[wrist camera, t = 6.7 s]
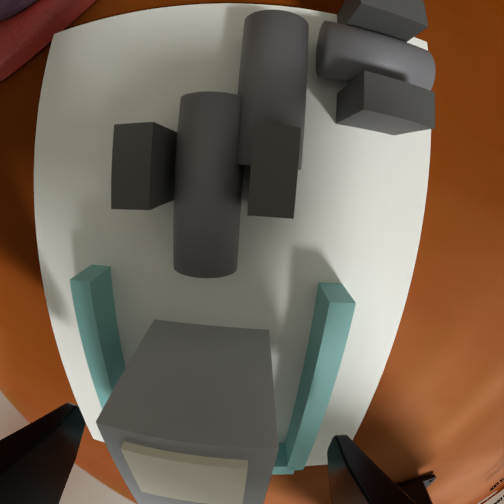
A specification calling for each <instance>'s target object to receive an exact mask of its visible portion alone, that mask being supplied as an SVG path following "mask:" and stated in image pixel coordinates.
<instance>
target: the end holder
mask: <svg viewBox="0 0 504 504" xmlns="http://www.w3.org/2000/svg"><path fill="white" fill-rule="evenodd" d="M70 286H71V292H72V298H73V304H74V309H75V314H76V319H77V324H78V328H79V333H80V337H81V341H82V345H83V349H84V353H85V357H86V360H87V364H88V368H89V371H90V374H91V378H92V381H93V384H94V387H95V390H96V393H97V396H98V399H99V402H100V405H101V408H102V409H103V407H104V405H105V404H106V402H107V400H108V398H109V396H110V395H111V393H112V391H113V389H114V387H115V386H116V384H117V382H118V380H119V379H120V377H121V375H122V373H123V372H124V370H125V364H124V359H123V354H122V348H121V343H120V337H119V331H118V325H117V318H116V311H115V304H114V296H113V287H112V278H111V267H110V266H102V265H90V266H89V267H87V268H86V269H84V270H83V271H81V272H80V273H78V274H77V275H75V276H74V277H72V278H71V279H70ZM355 305H356V302H355V301H354V300H353V298H352V297H351V295H350V294H349V293H348V291H347V290H346V288H345V287H344V286H343V284H342V283H325V282H319V283H318V290H317V296H316V302H315V308H314V313H313V319H312V325H311V330H310V335H309V341H308V346H307V351H306V356H305V360H304V365H303V370H302V375H301V379H300V384H299V388H298V392H297V397H296V401H295V405H294V409H293V413H292V418H291V422H290V425H289V429H288V433H287V437H286V441H285V443H278V447H279V450H278V454H277V457H276V461H275V465H274V468H273V472H272V475H280V474H293V473H294V471H295V470H303V469H304V467H305V465H306V462H307V460H308V457H309V455H310V452H311V450H312V447H313V445H314V442H315V440H316V437H317V434H318V432H319V429H320V426H321V423H322V420H323V418H324V415H325V412H326V409H327V406H328V403H329V400H330V397H331V394H332V391H333V388H334V384H335V381H336V378H337V374H338V371H339V368H340V364H341V361H342V357H343V353H344V350H345V346H346V342H347V338H348V335H349V331H350V327H351V322H352V318H353V314H354V310H355Z"/></svg>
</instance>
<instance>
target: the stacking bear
mask: <svg viewBox="0 0 504 504" xmlns="http://www.w3.org/2000/svg"><path fill="white" fill-rule="evenodd" d="M95 1H96V0H0V81H2V80H4V79H5V78H7V77H8V76H9V75H11V74H12V73H13V72H15V71H16V70H17V69H19V68H20V67H21V66H22V65H24V64H25V63H26V62H27V61H29V60H30V59H31V58H32V57H33V56H34V55H36V54H37V53H38V52H39V51H41V50H42V49H43V48H44V47H45V46H46V45H47V44H49V43H50V42H51V41H52V39H53V36H54V34H56V33H58V32H61V31H63V30H64V29H66V28H67V27H68V26H69V25H70V24H71V23H72V22H73V21H74V20H75V19H77V18H78V17H79V16H80V15H81V14H82V13H83V12H84V11H85V10H86V9H88V8H89V7H90V6H91V5H92V4H93V3H94V2H95Z"/></svg>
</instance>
